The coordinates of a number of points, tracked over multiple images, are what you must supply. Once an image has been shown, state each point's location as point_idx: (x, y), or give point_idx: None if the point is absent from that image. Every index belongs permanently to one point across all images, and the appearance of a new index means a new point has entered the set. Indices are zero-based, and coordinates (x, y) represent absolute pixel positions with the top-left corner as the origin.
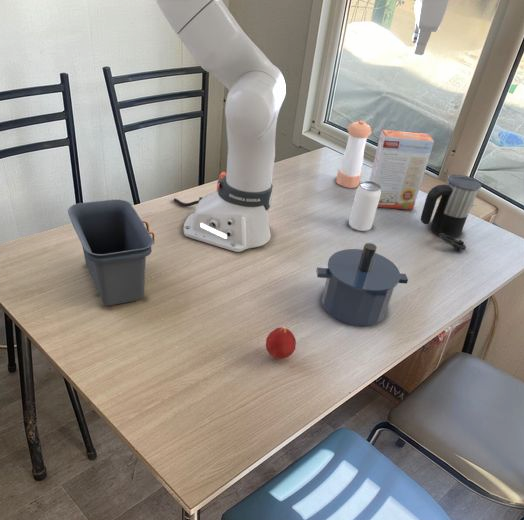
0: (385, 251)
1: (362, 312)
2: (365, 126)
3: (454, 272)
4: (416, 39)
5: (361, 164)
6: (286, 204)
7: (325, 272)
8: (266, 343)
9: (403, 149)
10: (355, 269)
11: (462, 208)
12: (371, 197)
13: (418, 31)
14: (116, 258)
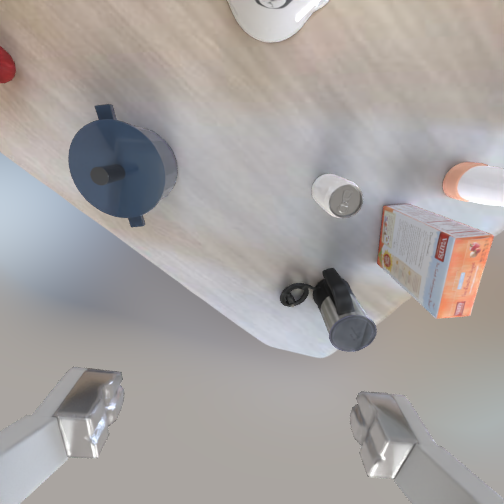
0: (268, 216)
1: None
2: None
3: (242, 285)
4: (365, 418)
5: (474, 201)
6: (381, 69)
7: (101, 117)
8: None
9: (431, 266)
10: (110, 159)
11: (323, 318)
12: (324, 202)
13: (414, 467)
14: None
